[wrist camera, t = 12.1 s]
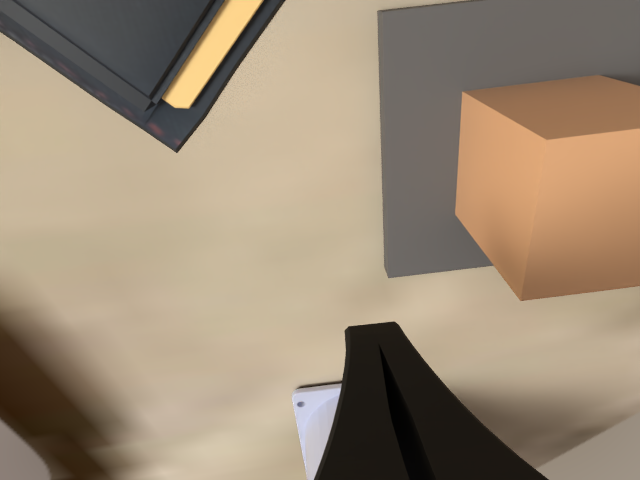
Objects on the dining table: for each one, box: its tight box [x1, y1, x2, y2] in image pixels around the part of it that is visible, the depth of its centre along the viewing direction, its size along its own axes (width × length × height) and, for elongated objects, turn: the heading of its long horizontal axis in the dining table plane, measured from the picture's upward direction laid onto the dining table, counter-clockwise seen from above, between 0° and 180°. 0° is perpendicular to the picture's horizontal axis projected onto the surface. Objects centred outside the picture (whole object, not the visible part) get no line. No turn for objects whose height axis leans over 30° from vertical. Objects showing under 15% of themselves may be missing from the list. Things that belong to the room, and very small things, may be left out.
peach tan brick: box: [455, 75, 640, 301], centre depth 16 cm, size 6×6×7 cm
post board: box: [377, 0, 640, 278], centre depth 17 cm, size 12×12×6 cm
